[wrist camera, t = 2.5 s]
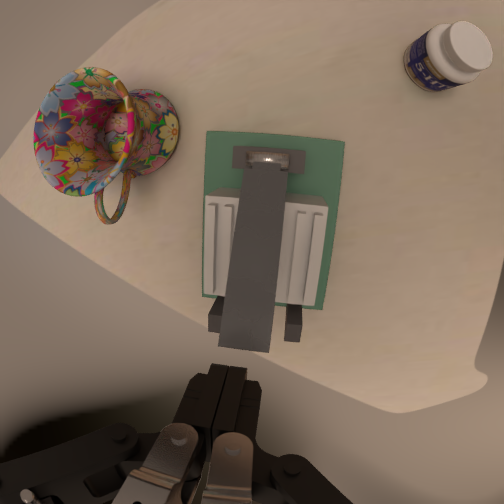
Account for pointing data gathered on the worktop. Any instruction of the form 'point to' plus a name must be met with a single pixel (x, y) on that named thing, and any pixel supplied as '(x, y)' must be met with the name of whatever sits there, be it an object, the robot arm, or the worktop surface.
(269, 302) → the strap
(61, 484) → the robot arm
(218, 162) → the heatsink base
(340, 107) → the worktop surface
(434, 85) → the pill bottle
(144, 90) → the mug
